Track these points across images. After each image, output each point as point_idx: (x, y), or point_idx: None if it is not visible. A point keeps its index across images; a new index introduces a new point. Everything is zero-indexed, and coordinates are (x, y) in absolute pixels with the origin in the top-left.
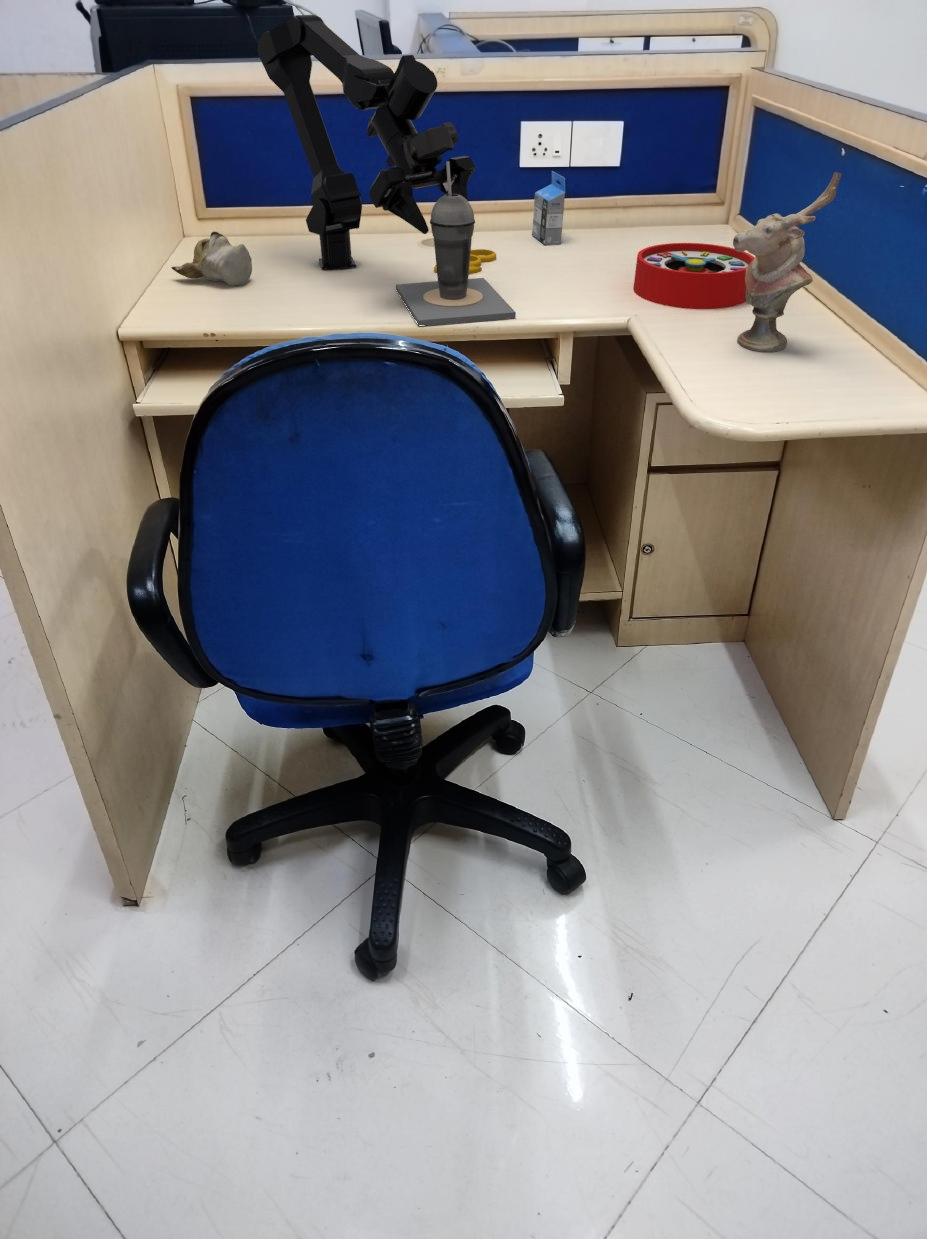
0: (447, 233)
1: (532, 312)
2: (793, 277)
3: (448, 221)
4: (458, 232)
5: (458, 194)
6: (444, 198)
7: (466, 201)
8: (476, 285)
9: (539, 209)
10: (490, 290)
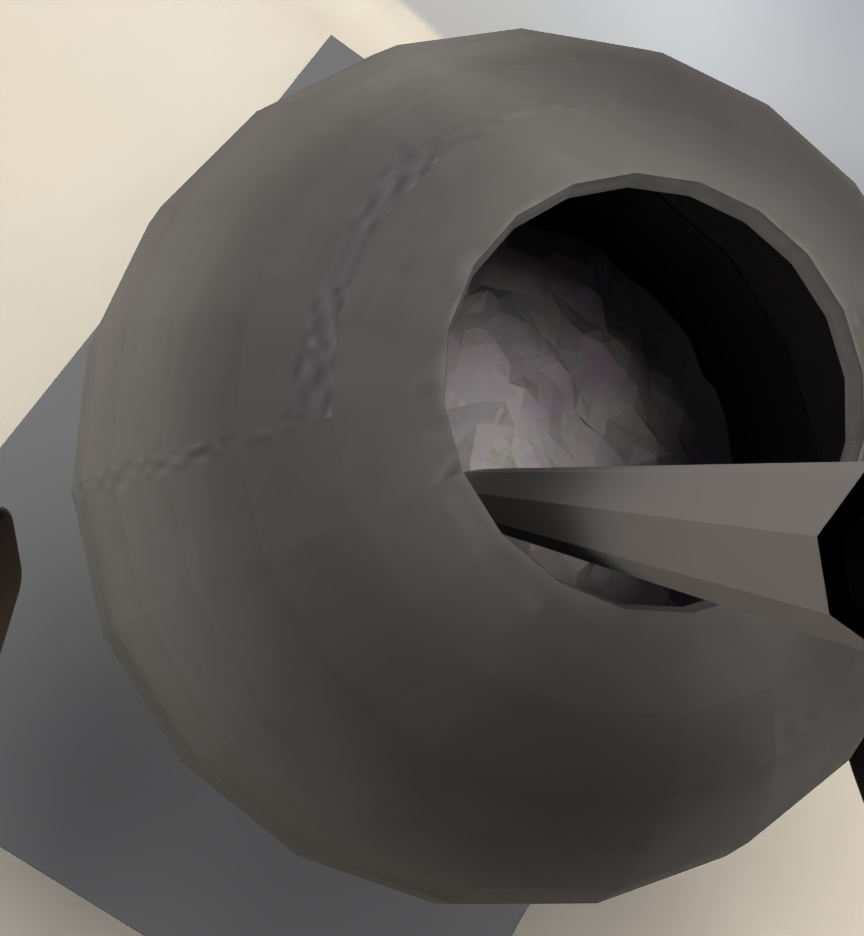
0: (707, 348)
1: (163, 39)
2: None
3: (790, 283)
4: (614, 231)
5: (463, 291)
6: None
7: (429, 63)
8: (16, 606)
9: None
10: (55, 438)
